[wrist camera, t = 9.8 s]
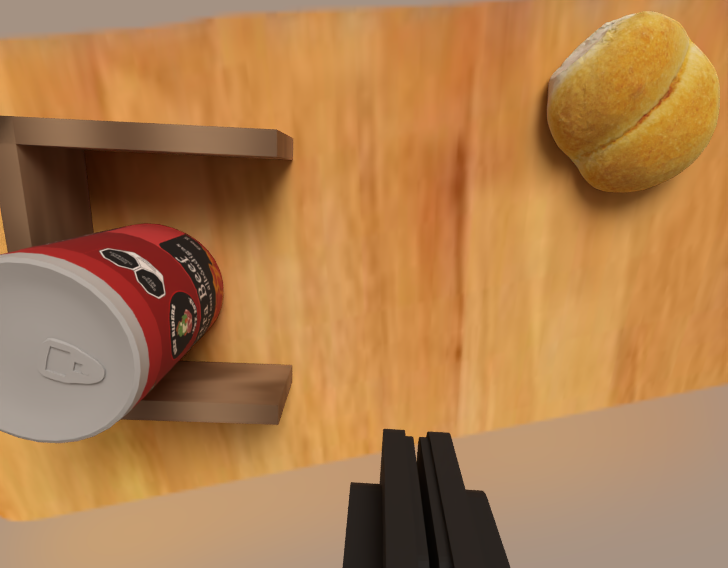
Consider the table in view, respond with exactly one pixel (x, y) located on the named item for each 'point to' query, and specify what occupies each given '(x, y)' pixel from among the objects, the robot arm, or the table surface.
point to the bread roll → (634, 103)
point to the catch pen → (73, 219)
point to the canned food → (98, 326)
